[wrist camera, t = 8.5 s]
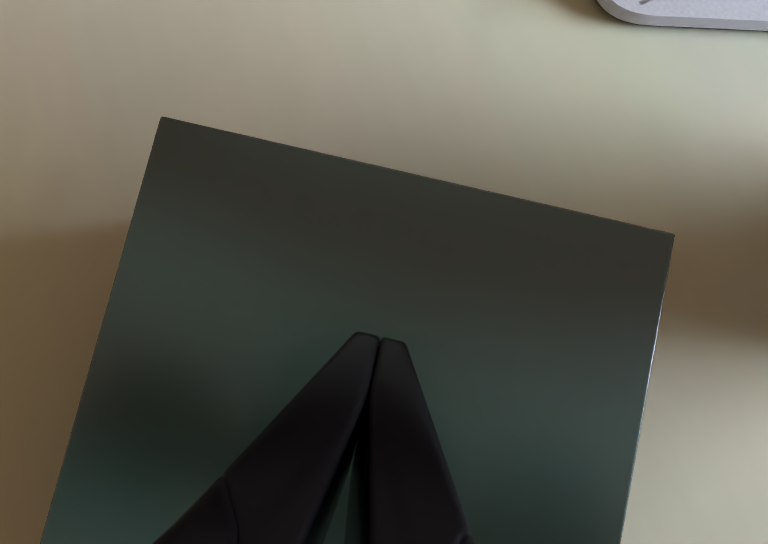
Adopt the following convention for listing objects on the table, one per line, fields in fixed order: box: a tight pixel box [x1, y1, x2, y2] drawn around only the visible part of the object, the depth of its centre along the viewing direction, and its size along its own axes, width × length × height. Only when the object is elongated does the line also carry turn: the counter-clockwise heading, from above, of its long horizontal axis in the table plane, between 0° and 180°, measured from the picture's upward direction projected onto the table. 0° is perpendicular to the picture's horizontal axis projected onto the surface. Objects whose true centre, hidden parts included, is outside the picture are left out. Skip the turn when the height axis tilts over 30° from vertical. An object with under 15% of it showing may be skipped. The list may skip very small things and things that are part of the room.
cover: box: [40, 117, 675, 544], centre depth 11 cm, size 14×11×1 cm
